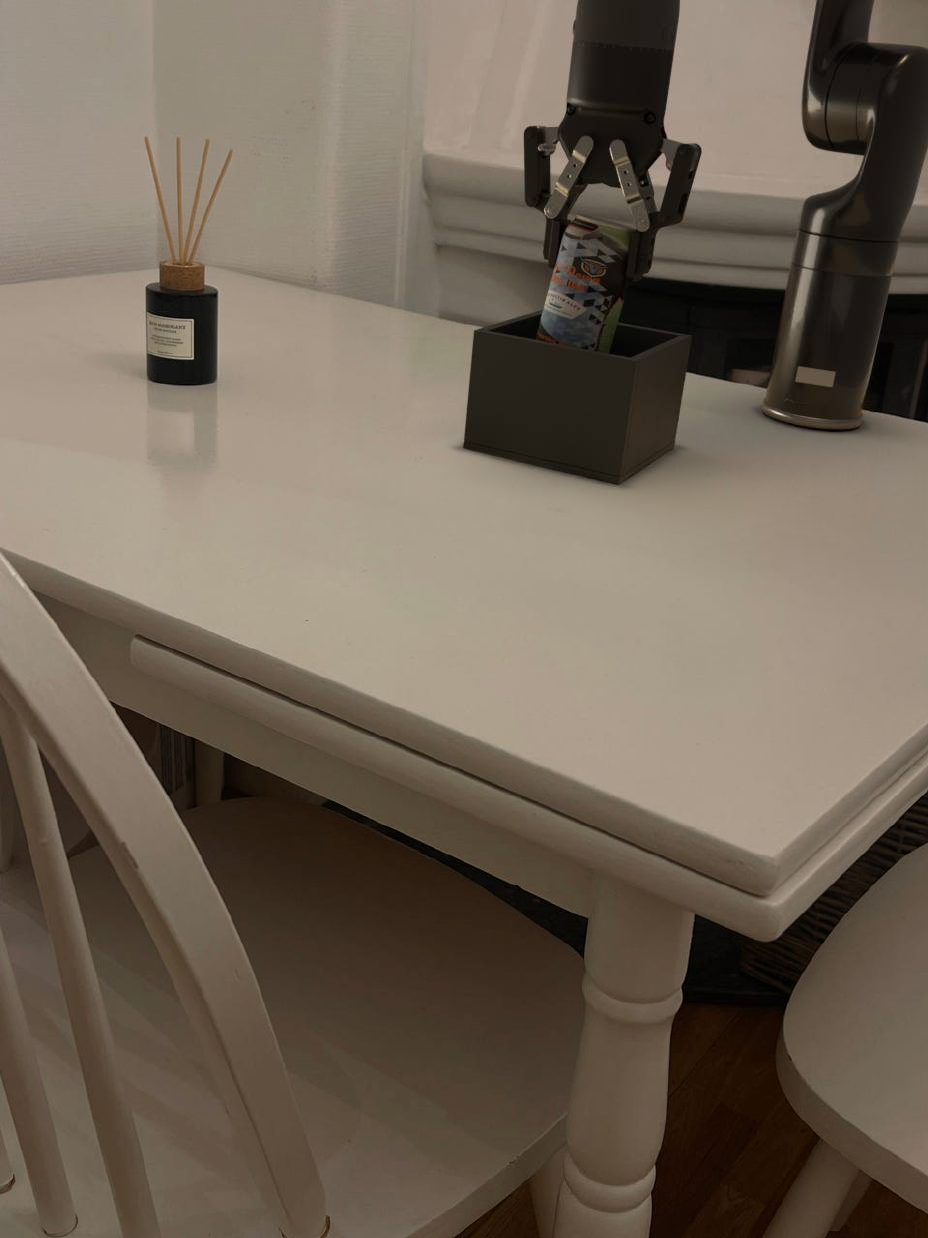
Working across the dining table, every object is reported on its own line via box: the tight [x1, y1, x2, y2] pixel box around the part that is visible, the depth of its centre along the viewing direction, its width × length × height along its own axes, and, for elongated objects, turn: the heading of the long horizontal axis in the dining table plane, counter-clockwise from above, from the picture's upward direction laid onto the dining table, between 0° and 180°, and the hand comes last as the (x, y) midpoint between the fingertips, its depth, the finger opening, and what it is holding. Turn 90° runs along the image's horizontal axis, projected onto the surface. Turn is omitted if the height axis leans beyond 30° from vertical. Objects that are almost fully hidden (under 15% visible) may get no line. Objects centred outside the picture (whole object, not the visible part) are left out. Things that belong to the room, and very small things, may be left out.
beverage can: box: [536, 213, 636, 354], centre depth 101 cm, size 6×7×12 cm
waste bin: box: [462, 309, 693, 485], centre depth 104 cm, size 14×14×10 cm
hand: (594, 272), depth 100 cm, fingers closed on beverage can, 6 cm apart
